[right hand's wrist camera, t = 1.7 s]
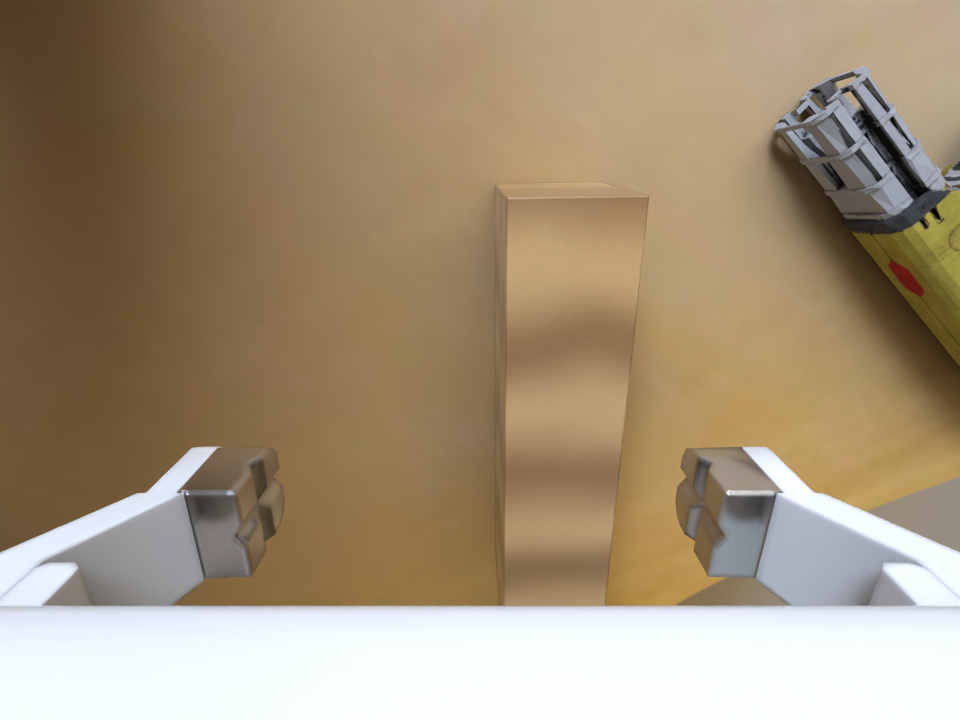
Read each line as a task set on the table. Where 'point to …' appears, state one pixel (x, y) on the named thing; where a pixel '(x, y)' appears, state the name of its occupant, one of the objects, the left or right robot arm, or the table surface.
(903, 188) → the toy gun
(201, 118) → the table surface
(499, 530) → the bar
